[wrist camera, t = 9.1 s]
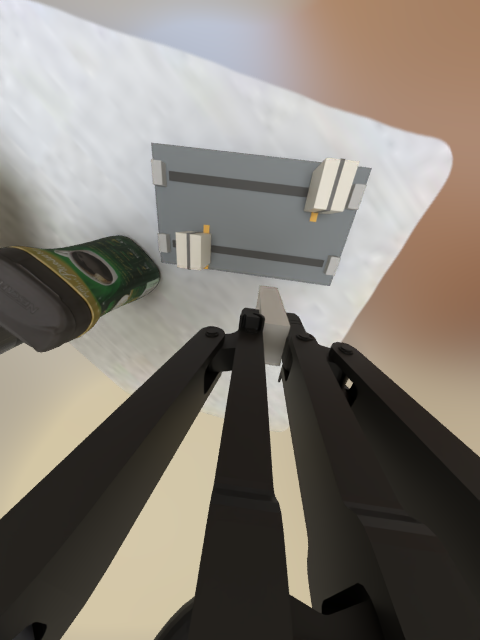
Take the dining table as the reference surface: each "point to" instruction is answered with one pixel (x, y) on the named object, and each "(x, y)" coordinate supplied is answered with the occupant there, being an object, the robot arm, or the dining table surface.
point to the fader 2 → (330, 186)
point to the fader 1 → (193, 250)
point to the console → (250, 212)
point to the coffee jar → (69, 288)
